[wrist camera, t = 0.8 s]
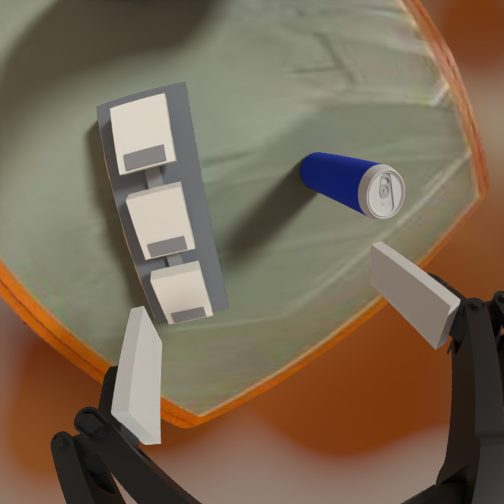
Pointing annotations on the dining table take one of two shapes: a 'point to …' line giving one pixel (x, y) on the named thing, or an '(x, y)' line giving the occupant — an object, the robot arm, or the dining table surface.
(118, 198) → the switch console
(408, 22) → the dining table surface
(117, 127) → the plate
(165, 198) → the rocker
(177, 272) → the rocker
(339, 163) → the beverage can
